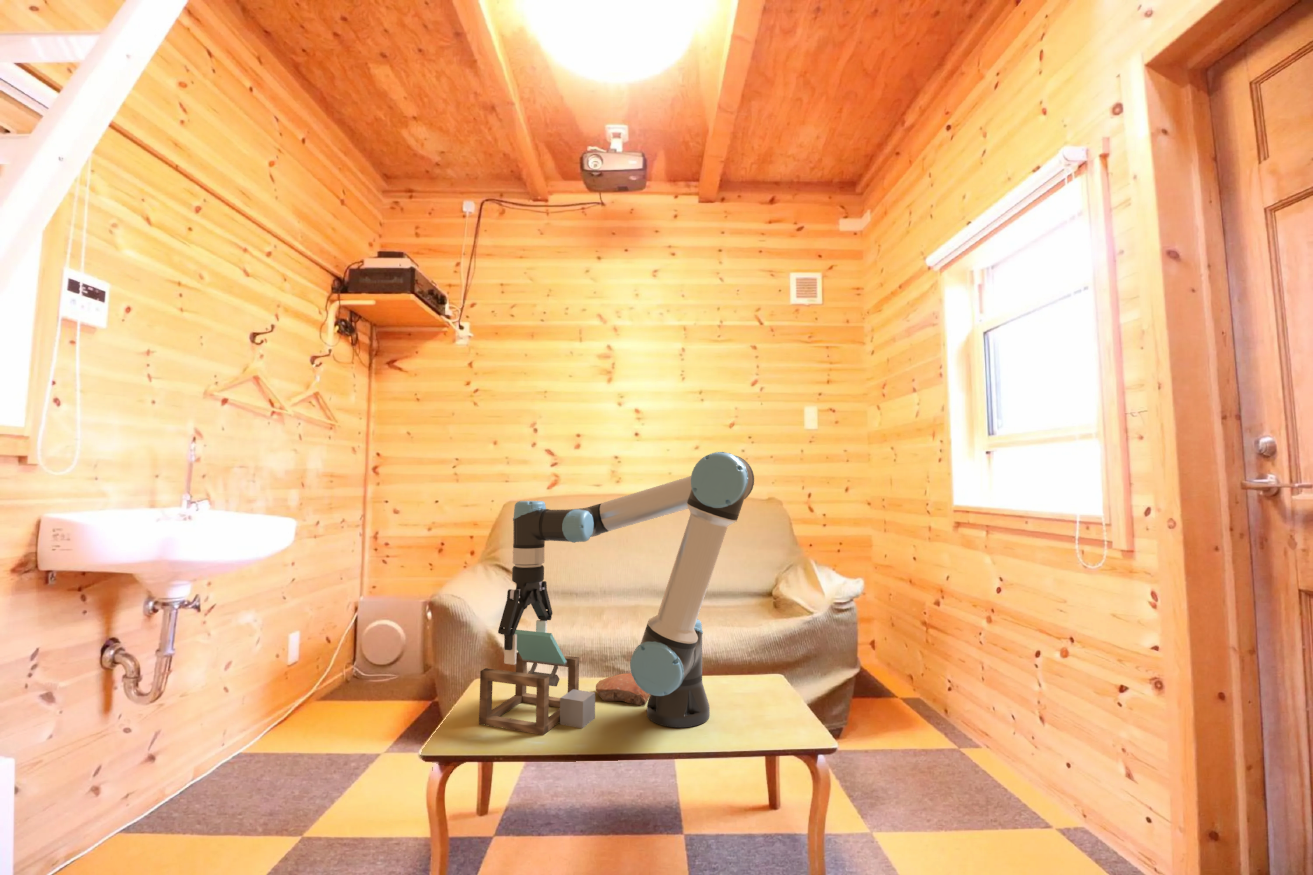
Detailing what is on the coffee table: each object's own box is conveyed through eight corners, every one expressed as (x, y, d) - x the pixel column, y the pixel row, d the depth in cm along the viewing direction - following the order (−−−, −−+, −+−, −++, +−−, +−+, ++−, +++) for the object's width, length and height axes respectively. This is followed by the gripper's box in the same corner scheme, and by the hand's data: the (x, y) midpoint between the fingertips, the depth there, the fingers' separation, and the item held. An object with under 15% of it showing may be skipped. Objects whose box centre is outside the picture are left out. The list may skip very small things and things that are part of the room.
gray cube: (594, 718, 134) (595, 692, 135) (582, 728, 129) (583, 701, 129) (572, 714, 137) (573, 689, 137) (559, 724, 131) (560, 697, 132)
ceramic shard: (608, 663, 160) (659, 675, 157) (603, 687, 159) (655, 699, 155) (592, 673, 146) (648, 686, 142) (587, 699, 145) (643, 713, 141)
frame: (578, 706, 141) (579, 657, 142) (543, 734, 125) (544, 679, 126) (519, 697, 147) (520, 650, 148) (478, 724, 131) (480, 670, 132)
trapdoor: (564, 687, 140) (571, 668, 143) (544, 651, 131) (552, 632, 135) (520, 681, 144) (529, 663, 147) (498, 646, 135) (507, 628, 139)
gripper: (541, 557, 150) (539, 640, 148) (483, 571, 126) (480, 669, 124) (566, 559, 147) (565, 642, 145) (512, 573, 124) (510, 673, 122)
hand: (526, 655), depth 135 cm, fingers open, 13 cm apart
